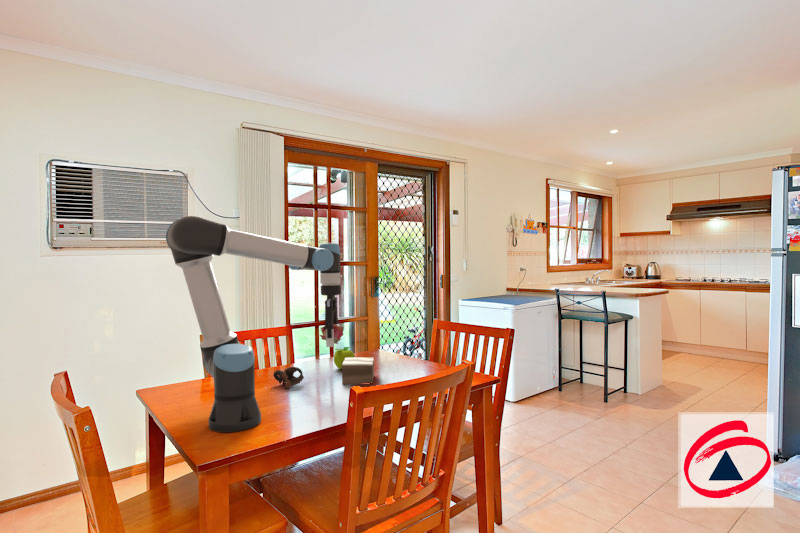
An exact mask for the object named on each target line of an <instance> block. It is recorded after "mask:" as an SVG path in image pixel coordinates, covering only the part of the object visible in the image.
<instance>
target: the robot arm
mask: <svg viewBox="0 0 800 533" xmlns="http://www.w3.org/2000/svg"><path fill="white" fill-rule="evenodd" d="M165 240H166V244H167V246H168V248H169V249H170V250H171V254H172V257H173V260H174V264H175V266H178V267H180V269H182V272H183V276H184V279H185V283H186V286H187V290H188V292H189V296H190V299H191V304H192V306H193V310H194V313H195V316H196V319H197V323H198V327H199V330H200V333H201V336H202V341H201V343H200V344H199V347H200V350H201V354H202V365H203V367H204V370H205V371H206V372H207V373H208V375H210V376H211V377H212V379H213V385H214V386H213V388H214V391H213V392H214V393H213V394H214V397H213V398H214V401H213V404H212V407H211V411H210V414H209V417H208V429H209V430H211V431H213V432H218V433H235V432H241V431H245V430H248V429H251V428H253V427H257V425H260V423H261V421H262V412H261V409H260V406H259V404H258V401H257V399H256V395H255V392H256V391H255V390H256V388H255V383H256V382H255V360H256V359H255V352H254V350H253V348H252V346H249V345H247V344H243V343H240V342H239V338H238V336H237V335H238V334H237V333H235V332H233V331H232V330H231V328H230V326H229V325H230V324H229V322H228V318H227V315H226V310H225V308H224V304H223V300H222V297H221V293H220V289H219V287H218V284H217V279H216V276H215V273H214V269H213V265H212V262H211V261H212V259H213V258H214V256H219V257H221V256H222V255H225V254H226V255H231V256H236V257H241V258H242V257H243V258H248V259H253V260H259V261H264V262H270V263H275V264H282V265H285V266H286V265H287V266H288V267H289V269H290V270H293V271H295V270H296V271H301V270H302V271H303V270H307V271H319V273H320V274H319V275H320V278H319V279H320V294H321V295H322V296H326V299H325V301H324V326H325V327H324V326H323V327H324V329H326V340H325V344H326V345H325V346H326V348H333V347H335V344H334V329H333V324H336V326H338V325H340V321H339V317H338V316H339V314H338V297H337V296H339V295H341V294H342V286H341V282H342V280H341V279H342V278H343V275H342V274H341V272H342V271H341V255H342V254H341V248H340V245H339V243H337V242H335V243H334V242H326V243H323V242H322V243H320V244H319V247H315V246H310V245H305V244H302V243H297V242H292V241H287V240H283V239H279V238H274V237H273V238H272V237H268V236H263V235H259V234H254V233H251V232H250V233H249V232H244V231H240V230H235V229H230V228H229V227H228V225H227V224H223V223H219V222H216V221H212V220H209V219H206V218H203V217H200V216H196V215H195V216H194V215H187V216H184V217H183V216H182V218H179V219H176V220H175V221H173V222H171V224H170V225H169V226H168V228H167V230H166V234H165Z"/></svg>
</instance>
